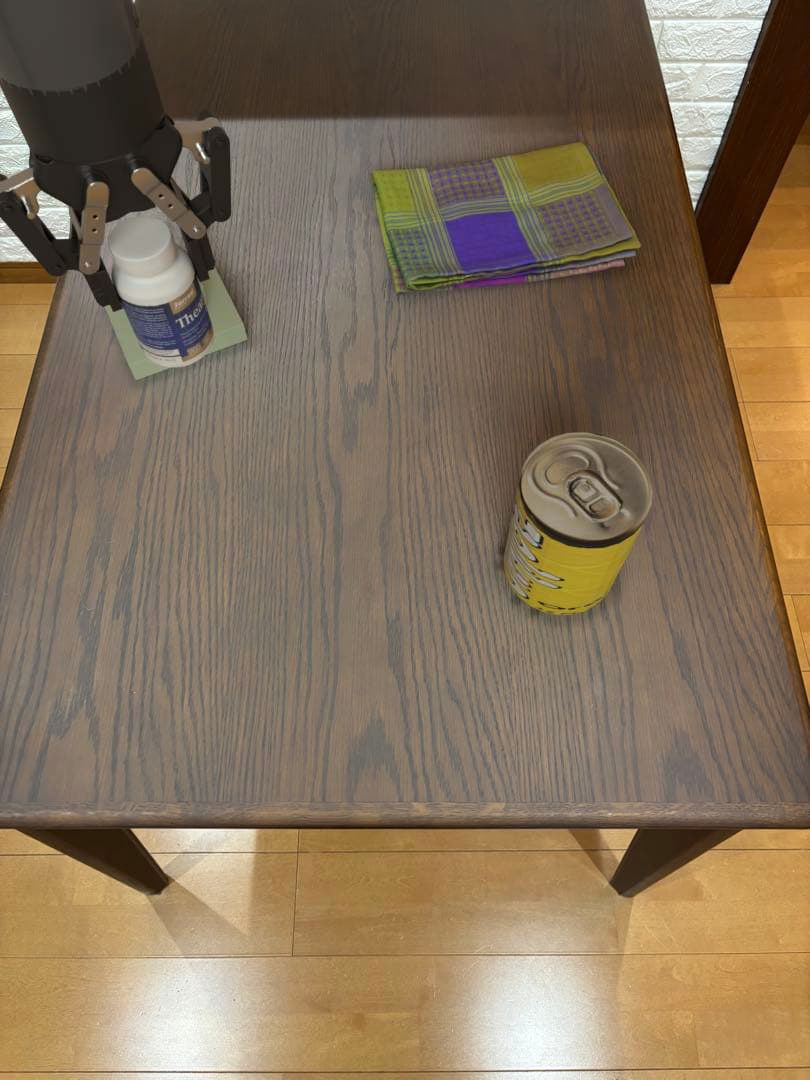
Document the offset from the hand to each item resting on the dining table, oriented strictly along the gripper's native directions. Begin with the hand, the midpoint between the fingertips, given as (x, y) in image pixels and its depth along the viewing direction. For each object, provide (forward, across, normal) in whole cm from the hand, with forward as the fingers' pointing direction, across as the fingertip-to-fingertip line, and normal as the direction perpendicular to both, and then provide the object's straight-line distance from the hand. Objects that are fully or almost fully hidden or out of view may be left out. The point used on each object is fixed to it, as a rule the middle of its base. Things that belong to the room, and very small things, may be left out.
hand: (157, 286), depth 56 cm
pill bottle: (+6, 0, 0) cm, 6 cm away
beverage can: (+19, -21, +23) cm, 37 cm away
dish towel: (+19, -35, -13) cm, 42 cm away
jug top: (+19, -1, -15) cm, 24 cm away
